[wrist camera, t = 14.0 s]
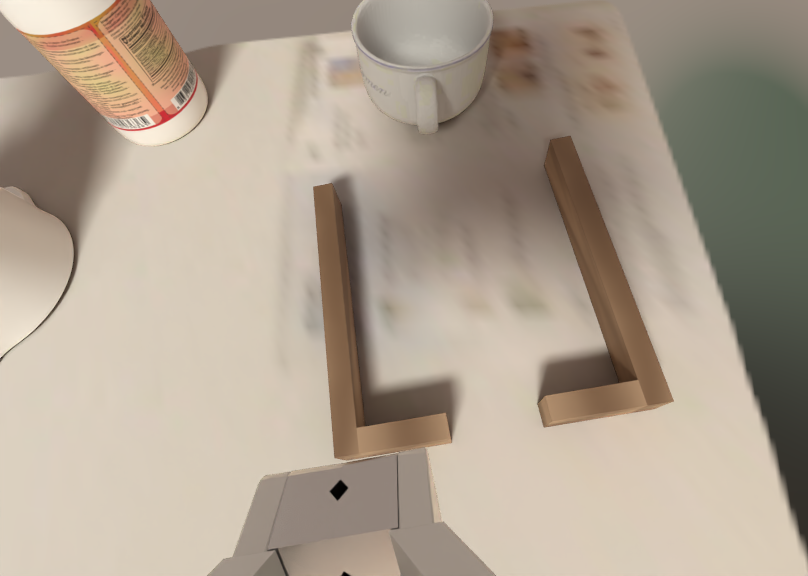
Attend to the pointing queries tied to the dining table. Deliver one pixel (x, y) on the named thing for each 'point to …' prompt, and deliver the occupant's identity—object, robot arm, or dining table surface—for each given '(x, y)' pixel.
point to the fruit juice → (117, 63)
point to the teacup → (422, 56)
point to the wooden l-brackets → (633, 393)
